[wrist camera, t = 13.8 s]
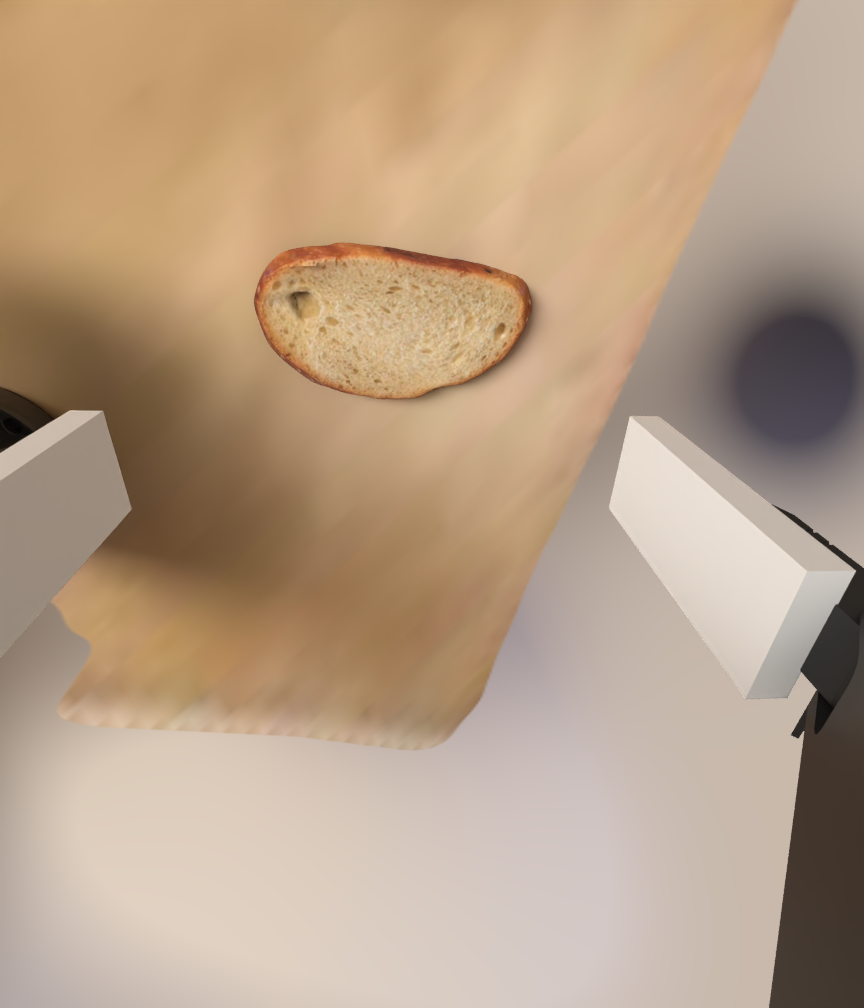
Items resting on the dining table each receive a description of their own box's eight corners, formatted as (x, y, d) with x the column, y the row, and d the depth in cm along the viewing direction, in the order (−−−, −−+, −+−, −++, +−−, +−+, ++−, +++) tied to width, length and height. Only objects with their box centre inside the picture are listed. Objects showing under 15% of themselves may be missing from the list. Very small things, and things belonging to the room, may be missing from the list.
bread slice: (548, 311, 42) (561, 319, 39) (397, 454, 48) (397, 472, 45) (389, 116, 35) (388, 107, 32) (234, 311, 41) (219, 319, 38)
